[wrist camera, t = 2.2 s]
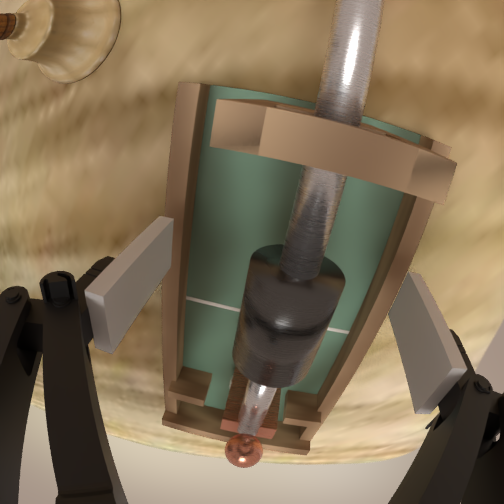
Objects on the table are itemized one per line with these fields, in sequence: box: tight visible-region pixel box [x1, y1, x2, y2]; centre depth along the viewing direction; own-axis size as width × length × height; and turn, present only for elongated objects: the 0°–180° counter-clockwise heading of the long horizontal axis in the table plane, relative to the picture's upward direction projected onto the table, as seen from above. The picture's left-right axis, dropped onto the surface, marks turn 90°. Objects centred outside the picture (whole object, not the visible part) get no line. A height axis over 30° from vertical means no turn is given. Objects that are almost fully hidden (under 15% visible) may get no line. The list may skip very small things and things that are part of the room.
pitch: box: [162, 82, 457, 455], centre depth 19 cm, size 15×30×12 cm, turn 170°
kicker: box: [220, 0, 384, 468], centre depth 12 cm, size 3×27×11 cm, turn 170°
